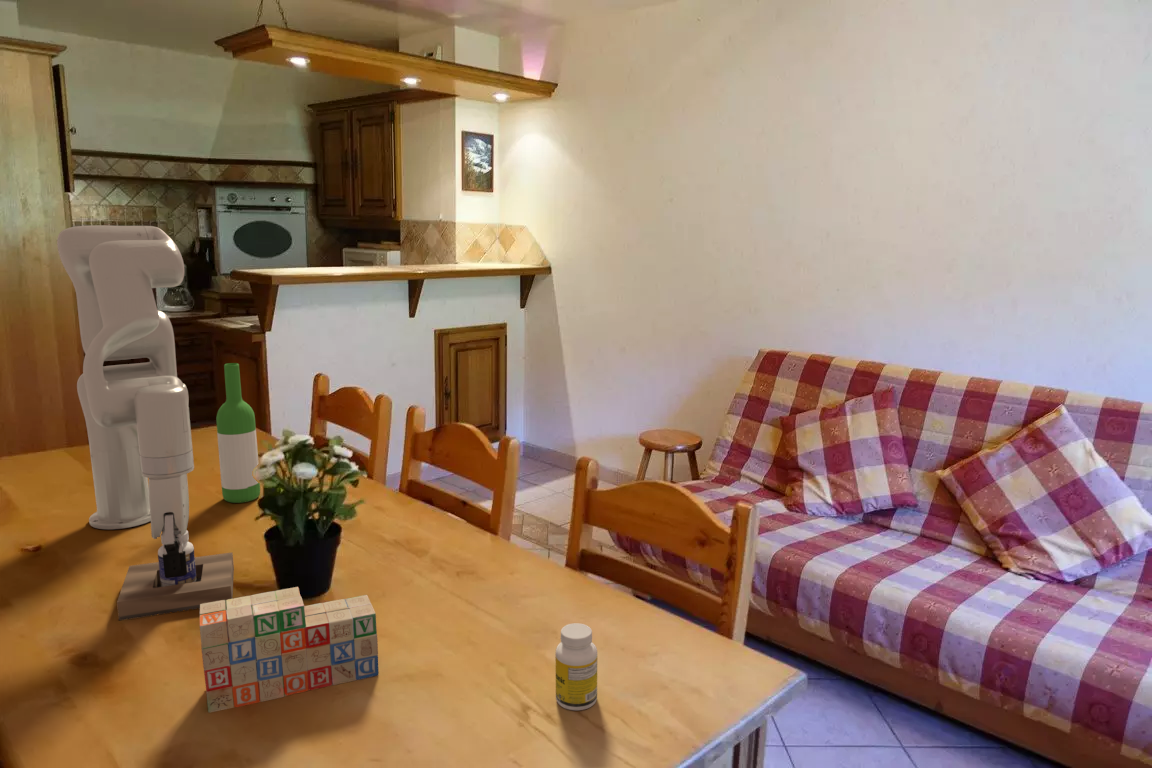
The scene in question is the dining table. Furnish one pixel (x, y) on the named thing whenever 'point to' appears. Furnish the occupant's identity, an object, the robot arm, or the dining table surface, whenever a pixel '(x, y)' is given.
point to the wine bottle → (237, 442)
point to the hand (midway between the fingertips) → (177, 567)
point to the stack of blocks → (283, 646)
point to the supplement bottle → (576, 668)
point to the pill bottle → (189, 562)
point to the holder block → (175, 588)
